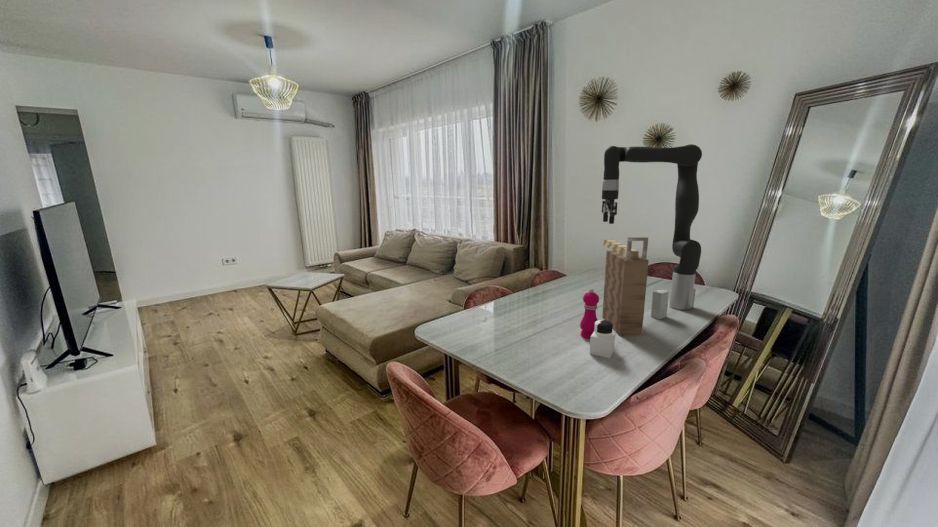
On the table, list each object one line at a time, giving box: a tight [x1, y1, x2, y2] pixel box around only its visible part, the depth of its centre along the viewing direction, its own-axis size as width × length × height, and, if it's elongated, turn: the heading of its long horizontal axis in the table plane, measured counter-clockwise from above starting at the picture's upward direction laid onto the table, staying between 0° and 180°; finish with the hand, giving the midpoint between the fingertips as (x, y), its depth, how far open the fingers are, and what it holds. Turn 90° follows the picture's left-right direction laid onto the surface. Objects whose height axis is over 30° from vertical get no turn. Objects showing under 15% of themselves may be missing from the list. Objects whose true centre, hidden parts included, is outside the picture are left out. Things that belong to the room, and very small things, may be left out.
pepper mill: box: [579, 288, 600, 340], centre depth 142 cm, size 7×7×20 cm
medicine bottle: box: [589, 319, 616, 359], centre depth 130 cm, size 7×7×12 cm
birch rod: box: [602, 238, 639, 259], centre depth 154 cm, size 30×3×3 cm, turn 179°
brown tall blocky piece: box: [601, 236, 650, 337], centre depth 149 cm, size 20×9×40 cm, turn 179°
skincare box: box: [650, 288, 670, 320], centre depth 161 cm, size 6×4×12 cm
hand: (608, 222), depth 178 cm, fingers open, 8 cm apart
